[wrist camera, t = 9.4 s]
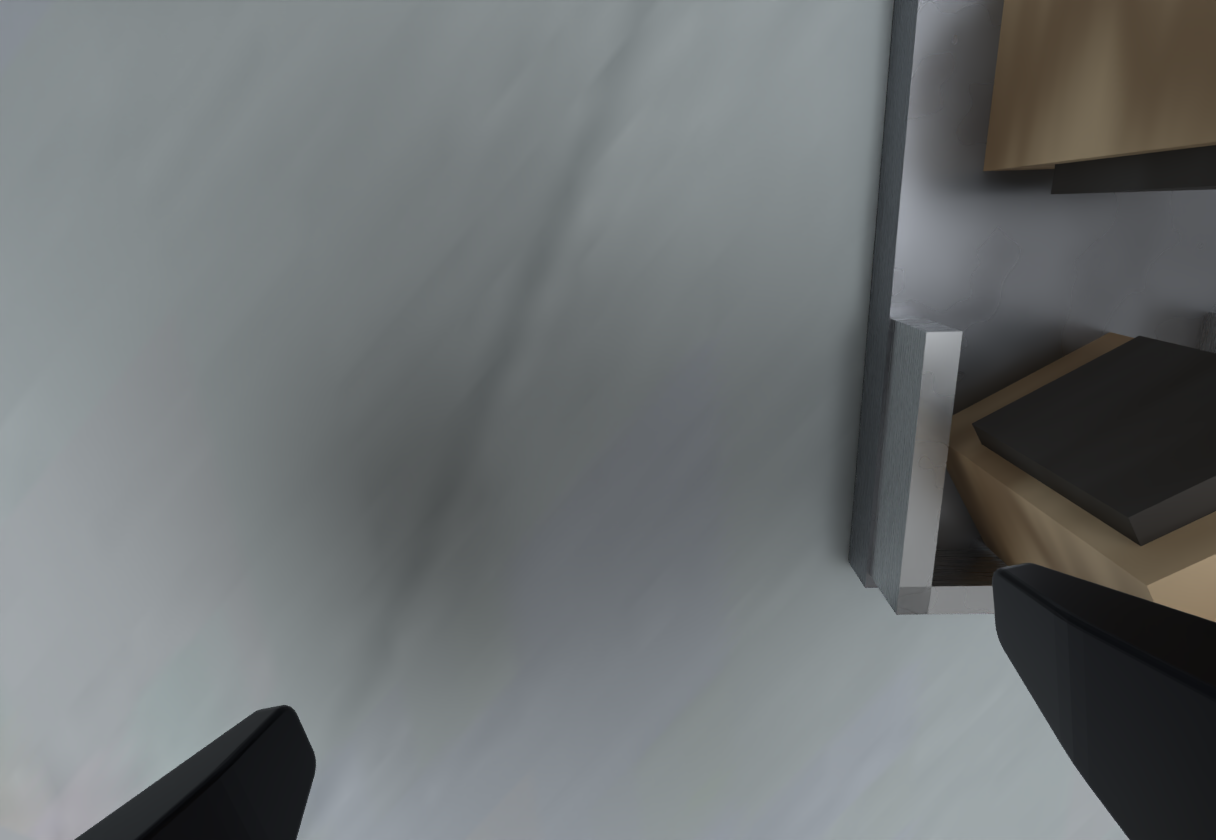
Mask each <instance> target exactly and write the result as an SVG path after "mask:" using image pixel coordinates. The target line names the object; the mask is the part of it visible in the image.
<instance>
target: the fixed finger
mask: <svg viewBox="0 0 1216 840" xmlns="http://www.w3.org/2000/svg"><path fill="white" fill-rule="evenodd" d="M1037 169H1054V176H1053V182H1052V189H1051V194H1081V193H1114V192H1148V191H1182V190H1215V189H1216V0H1004V6H1003V14H1002V22H1001V30H1000V38H999V47H998V55H997V63H996V71H995V79H994V87H993V95H992V104H991V112H990V120H989V128H988V136H987V144H986V153H985V161H984V169H983V171H1005V170H1037Z"/></svg>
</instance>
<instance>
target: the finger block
mask: <svg viewBox="0 0 1216 840" xmlns="http://www.w3.org/2000/svg"><path fill="white" fill-rule="evenodd" d="M946 469H947V471H948V473H949V475H950V477H951V479H952V480H953V482H954V484H955V486H956V488H957V490H958V492H959V494H960V496H961V498H962V500H963V502H964V504H965V506H966V508H967V510H968V512H969V514H970V516H971V518H972V520H973V522H974V524H975V526H976V528H977V529H978V531H979V533H980V535H981V537H982V539H983V541H984V543H985V545H986V546H987V547H988V548H989V549H990V550H991V551H992V552H993V553H994V554H995V555H996V556H997V557H999V558H1000V559H1001V560H1002V561H1003V562H1004V563H1005V564H1006V565H1007V566H1012V565H1017V564H1022V563H1034V564H1037V565H1040V566H1043V567H1046V568H1049V569H1053V570H1056V571H1059V572H1062V573H1065V574H1068V575H1071V576H1074V577H1077V578H1080V579H1083V580H1087V581H1090V582H1093V583H1096V584H1099V585H1102V586H1105V587H1108V588H1111V589H1114V590H1118V591H1121V592H1124V593H1127V594H1130V595H1133V596H1136V597H1139V598H1142V599H1145V600H1149V601H1152V602H1155V603H1158V604H1161V605H1164V606H1167V607H1170V608H1173V609H1176V610H1180V611H1183V612H1186V613H1189V614H1192V615H1195V616H1198V617H1201V618H1204V619H1207V620H1210V621H1214V622H1216V353H1212V352H1208V351H1204V350H1200V349H1195V348H1191V347H1187V346H1182V345H1178V344H1174V343H1169V342H1165V341H1161V340H1157V339H1152V338H1148V337H1144V336H1137V337H1135V338H1132V337H1128V336H1124V335H1120V334H1116V333H1112V332H1109V333H1107V334H1105V335H1103V336H1102V337H1100V338H1098V339H1096V340H1094V341H1092V342H1090V343H1088V344H1086V345H1085V346H1083V347H1081V348H1079V349H1077V350H1075V351H1073V352H1071V353H1069V354H1068V355H1066V356H1064V357H1062V358H1060V359H1058V360H1056V361H1054V362H1053V363H1051V364H1049V365H1047V366H1045V367H1043V368H1041V369H1039V370H1037V371H1036V372H1034V373H1032V374H1030V375H1028V376H1026V377H1024V378H1022V379H1020V380H1019V381H1017V382H1015V383H1013V384H1011V385H1009V386H1007V387H1005V388H1004V389H1002V390H1000V391H998V392H996V393H994V394H992V395H990V396H988V397H987V398H985V399H983V400H981V401H979V402H977V403H975V404H973V405H971V406H970V407H968V408H966V409H964V410H962V411H960V412H958V413H956V414H955V415H953V416H952V422H951V430H950V438H949V447H948V455H947V463H946Z"/></svg>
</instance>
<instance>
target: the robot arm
mask: <svg viewBox="0 0 1216 840" xmlns="http://www.w3.org/2000/svg"><path fill="white" fill-rule="evenodd" d="M992 588H993V600H994V612H995V624H996V631H997V635H998V638H999V641H1000V643H1001V645H1002V647H1003V649H1004V651H1005V653H1006V654H1007V656H1008V658H1009V659H1010V661H1011V662H1012V664H1013V666H1014V667H1015V669H1016V671H1017V672H1018V674H1019V676H1020V677H1021V679H1022V681H1023V682H1024V684H1025V686H1026V687H1027V689H1028V691H1029V692H1030V694H1031V696H1032V697H1033V699H1034V701H1035V702H1036V704H1037V706H1038V707H1039V709H1040V710H1041V712H1042V714H1043V715H1044V717H1045V719H1046V720H1047V722H1048V724H1049V725H1050V727H1051V729H1052V730H1053V732H1054V734H1055V735H1056V737H1057V739H1058V740H1059V742H1060V744H1061V745H1062V747H1063V748H1064V750H1065V751H1066V753H1067V755H1068V756H1069V758H1070V759H1071V761H1072V762H1073V764H1074V765H1075V767H1076V768H1077V770H1078V771H1079V772H1080V774H1081V775H1082V777H1083V778H1084V779H1085V781H1086V782H1087V784H1088V785H1089V786H1090V788H1091V789H1092V790H1093V792H1094V793H1095V794H1096V796H1097V797H1098V798H1099V800H1100V801H1101V802H1102V804H1103V805H1104V806H1105V808H1106V809H1107V810H1108V812H1109V813H1110V814H1111V816H1112V817H1113V818H1114V820H1115V821H1116V822H1117V824H1118V825H1119V826H1120V828H1121V829H1122V830H1123V832H1124V833H1125V834H1126V836H1127V837H1128V838H1129V840H1216V622H1214V621H1210V620H1207V619H1204V618H1201V617H1198V616H1195V615H1192V614H1189V613H1186V612H1183V611H1180V610H1176V609H1173V608H1170V607H1167V606H1164V605H1161V604H1158V603H1155V602H1152V601H1149V600H1145V599H1142V598H1139V597H1136V596H1133V595H1130V594H1127V593H1124V592H1121V591H1118V590H1114V589H1111V588H1108V587H1105V586H1102V585H1099V584H1096V583H1093V582H1090V581H1087V580H1083V579H1080V578H1077V577H1074V576H1071V575H1068V574H1065V573H1062V572H1059V571H1056V570H1053V569H1049V568H1046V567H1043V566H1040V565H1037V564H1034V563H1022V564H1017V565H1012V566H1007V567H1002V568H998V569H996V571H995V572H994V573H993V577H992ZM315 768H316V759H315V754H314V751H313V749H312V746H311V744H310V742H309V740H308V738H307V735H306V733H305V731H304V729H303V727H302V724H301V722H300V720H299V718H298V716H297V713H296V712H295V710H294V709H293V708H292V707H290V706H287V705H282V706H276V707H271V708H266V709H260V710H258V711H256V712H254V713H252V714H251V715H250V716H248V717H247V718H245V719H244V720H243V721H241V722H240V723H238V724H237V725H236V726H234V727H233V728H231V729H230V730H228V731H227V732H226V733H224V734H223V735H221V736H220V737H219V738H217V739H216V740H214V741H213V742H212V743H210V744H209V745H207V746H206V747H204V748H203V749H202V750H200V751H199V752H197V753H196V754H195V755H193V756H192V757H190V758H189V759H188V760H186V761H185V762H183V763H182V764H180V765H179V766H178V767H176V768H175V769H173V770H172V771H171V772H169V773H168V774H166V775H165V776H164V777H162V778H161V779H159V780H158V781H156V782H155V783H154V784H152V785H151V786H149V787H148V788H147V789H145V790H144V791H142V792H141V793H140V794H138V795H137V796H135V797H134V798H132V799H131V800H130V801H128V802H127V803H125V804H124V805H123V806H121V807H120V808H118V809H117V810H116V811H114V812H113V813H111V814H110V815H108V816H107V817H106V818H104V819H103V820H101V821H100V822H99V823H97V824H96V825H94V826H93V827H92V828H90V829H89V830H87V831H86V832H85V833H83V834H82V835H80V836H79V837H77V838H76V839H75V840H296V839H297V835H298V832H299V828H300V825H301V821H302V817H303V814H304V810H305V807H306V803H307V800H308V796H309V793H310V789H311V786H312V782H313V779H314V775H315Z"/></svg>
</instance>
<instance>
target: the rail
mask: <svg viewBox="0 0 1216 840" xmlns="http://www.w3.org/2000/svg"><path fill="white" fill-rule="evenodd" d="M1003 6H1004V0H895V3H894V15H893V28H892V40H891V52H890V64H889V76H888V89H887V101H886V113H885V125H884V137H883V150H882V162H881V174H880V186H879V198H878V211H877V223H876V235H875V247H874V259H873V272H872V284H871V296H870V308H869V320H868V333H867V345H866V357H865V369H864V381H863V394H862V406H861V418H860V430H859V442H858V455H857V467H856V479H855V491H854V504H853V516H852V528H851V540H850V552H849V563H850V565H851V567H852V568H853V570H854V571H855V573H856V574H857V576H858V577H859V579H860V581H861V582H862V584H863V585H864V587H865V588H879V590H880V591H881V592H882V594H883V595H884V597H885V598H886V600H887V601H888V603H889V604H890V606H891V607H892V609H893V610H894V612H895V613H896V615H900V614H995V612H994V600H993V588H992V577H993V573H994V572H995V571H996V569H998V568H1002V567H1007V565H1006V564H1005V563H1004V562H1003V561H1002V560H1001V559H1000V558H999V557H997V556H996V555H995V554H994V553H993V552H992V551H991V550H990V549H989V548H988V547H987V546H986V545H985V543H984V541H983V539H982V537H981V535H980V533H979V531H978V529H977V528H976V526H975V524H974V522H973V520H972V518H971V516H970V514H969V512H968V510H967V508H966V506H965V504H964V502H963V500H962V498H961V496H960V494H959V492H958V490H957V488H956V486H955V484H954V482H953V480H952V479H951V477H950V475H949V473H948V471H947V469H946V463H947V455H948V447H949V438H950V430H951V422H952V416H953V415H955V414H956V413H958V412H960V411H962V410H964V409H966V408H968V407H970V406H971V405H973V404H975V403H977V402H979V401H981V400H983V399H985V398H987V397H988V396H990V395H992V394H994V393H996V392H998V391H1000V390H1002V389H1004V388H1005V387H1007V386H1009V385H1011V384H1013V383H1015V382H1017V381H1019V380H1020V379H1022V378H1024V377H1026V376H1028V375H1030V374H1032V373H1034V372H1036V371H1037V370H1039V369H1041V368H1043V367H1045V366H1047V365H1049V364H1051V363H1053V362H1054V361H1056V360H1058V359H1060V358H1062V357H1064V356H1066V355H1068V354H1069V353H1071V352H1073V351H1075V350H1077V349H1079V348H1081V347H1083V346H1085V345H1086V344H1088V343H1090V342H1092V341H1094V340H1096V339H1098V338H1100V337H1102V336H1103V335H1105V334H1107V333H1109V332H1112V333H1116V334H1120V335H1124V336H1128V337H1132V338H1135V337H1137V336H1144V337H1148V338H1152V339H1157V340H1161V341H1165V342H1169V343H1174V344H1178V345H1182V346H1187V347H1191V348H1195V349H1200V350H1204V351H1208V352H1212V353H1216V189H1215V190H1182V191H1148V192H1114V193H1081V194H1051V189H1052V182H1053V176H1054V169H1037V170H1005V171H983V169H984V161H985V153H986V144H987V136H988V128H989V120H990V112H991V104H992V95H993V87H994V79H995V71H996V63H997V55H998V47H999V38H1000V30H1001V22H1002V14H1003Z"/></svg>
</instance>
